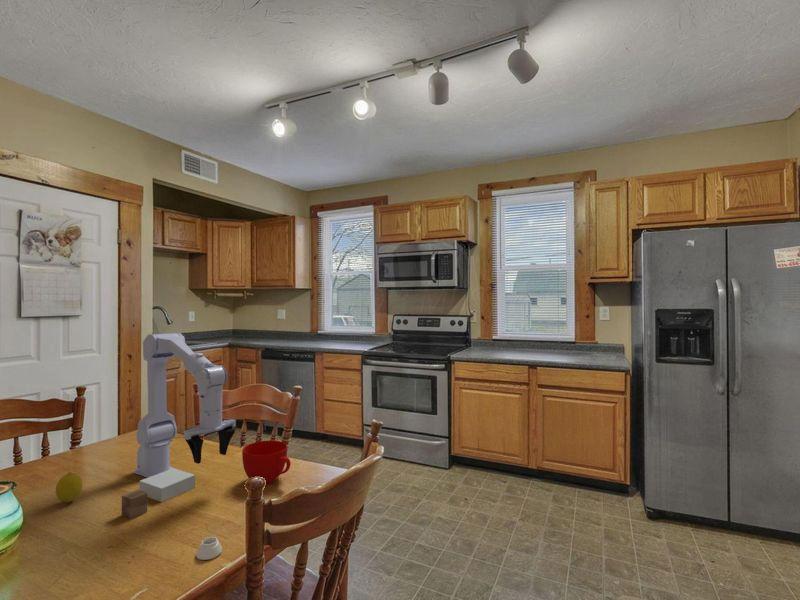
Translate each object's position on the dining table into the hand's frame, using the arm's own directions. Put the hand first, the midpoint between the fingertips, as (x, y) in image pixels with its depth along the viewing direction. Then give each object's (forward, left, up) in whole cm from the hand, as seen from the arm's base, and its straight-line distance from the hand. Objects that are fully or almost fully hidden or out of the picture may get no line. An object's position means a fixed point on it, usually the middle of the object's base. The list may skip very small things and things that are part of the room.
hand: (210, 458), depth 116 cm
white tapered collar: (+24, -18, -10) cm, 32 cm away
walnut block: (-7, -16, -10) cm, 21 cm away
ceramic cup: (+9, +14, -10) cm, 19 cm away
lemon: (-28, -21, -10) cm, 37 cm away
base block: (-12, -4, -10) cm, 17 cm away
